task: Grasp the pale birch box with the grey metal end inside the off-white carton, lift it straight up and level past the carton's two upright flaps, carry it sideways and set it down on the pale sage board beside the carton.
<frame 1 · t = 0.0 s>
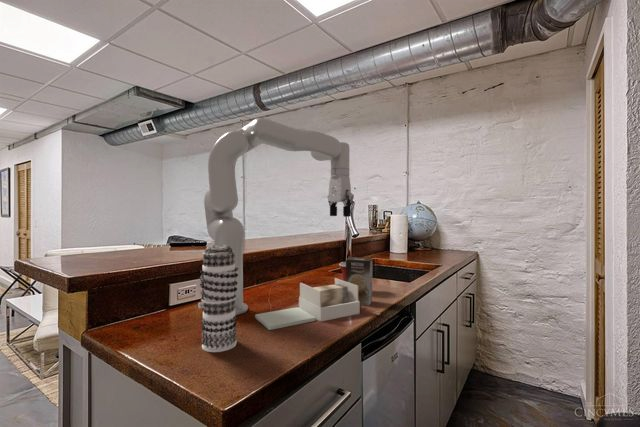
hand: (340, 216, 131), 31 cm above the worktop, tool pointing down, fingers open, 9 cm apart
plastic cup: (351, 291, 135), on the worktop
sage board: (284, 319, 101), on the worktop
birch box: (328, 311, 109), resting in carton
coffee box: (358, 302, 119), on the worktop
decorative candle: (219, 345, 82), on the worktop
carton: (328, 310, 109), on the worktop
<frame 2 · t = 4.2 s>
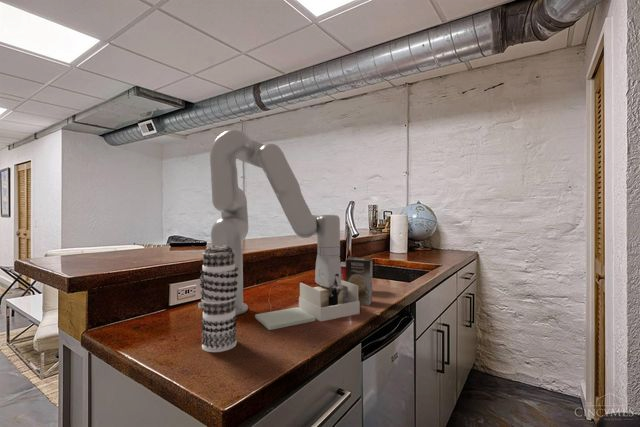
hand: (328, 305, 109), 2 cm above the worktop, tool pointing down, fingers closed on birch box, 5 cm apart
birch box: (328, 310, 109), resting in carton, touching gripper
everything else where it was.
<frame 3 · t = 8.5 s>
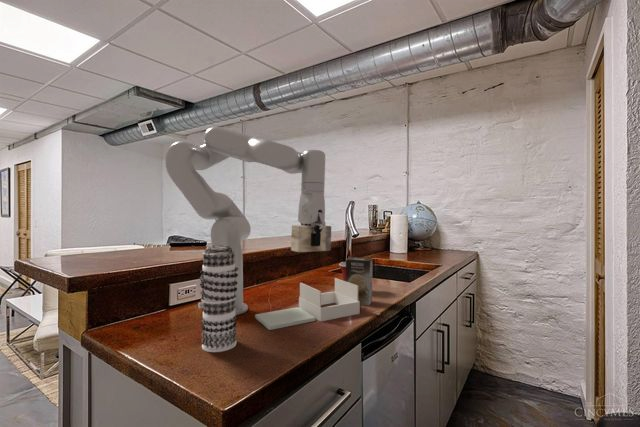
hand: (311, 244, 106), 23 cm above the worktop, tool pointing down, fingers closed on birch box, 5 cm apart
birch box: (311, 250, 106), point 21 cm above the worktop, touching gripper
everything else where it was.
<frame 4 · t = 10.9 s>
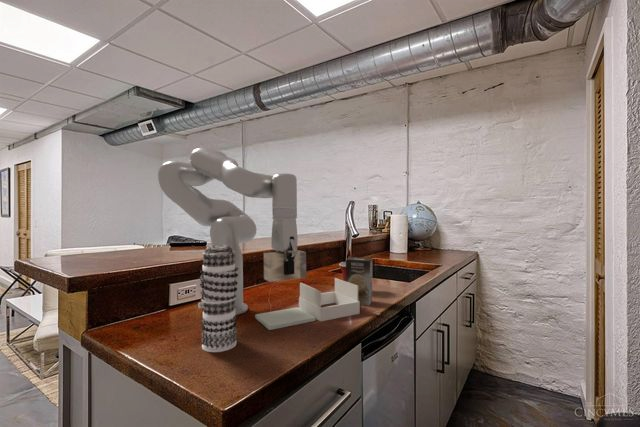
hand: (285, 272, 101), 15 cm above the worktop, tool pointing down, fingers closed on birch box, 5 cm apart
birch box: (285, 278, 101), point 13 cm above the worktop, touching gripper
everything else where it was.
when the fingers open (4 cm above the worktop, at t = 13.2 s): birch box drops 1 cm, resting on sage board.
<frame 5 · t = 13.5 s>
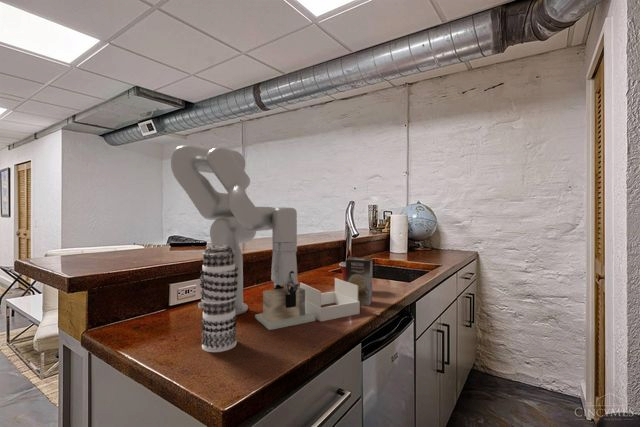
hand: (284, 303, 101), 5 cm above the worktop, tool pointing down, fingers open, 8 cm apart
birch box: (284, 315, 101), point 1 cm above the worktop, touching sage board
everything else where it was.
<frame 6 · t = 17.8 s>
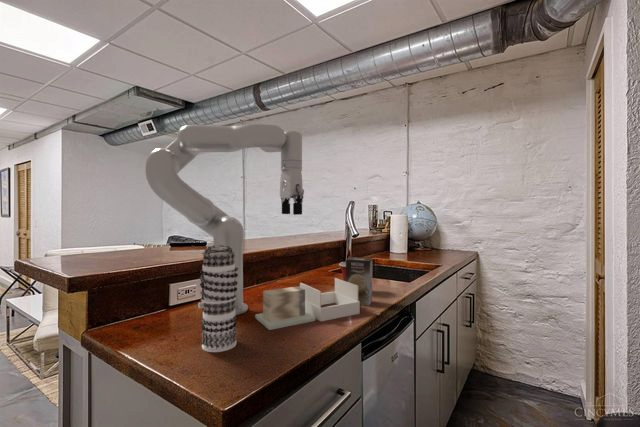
hand: (291, 214, 117), 32 cm above the worktop, tool pointing down, fingers open, 9 cm apart
nothing on the worktop moved.
at the end: birch box inside the target area on the sage board (0.2 cm from its centre), point 1.0 cm above the sage board's base; birch box tilted 0°; the gripper is holding nothing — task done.
